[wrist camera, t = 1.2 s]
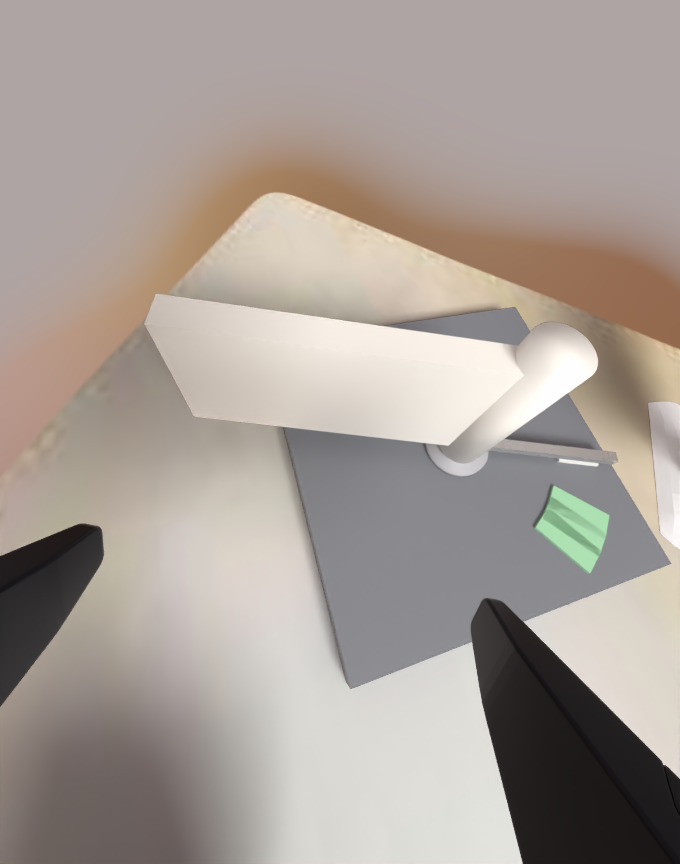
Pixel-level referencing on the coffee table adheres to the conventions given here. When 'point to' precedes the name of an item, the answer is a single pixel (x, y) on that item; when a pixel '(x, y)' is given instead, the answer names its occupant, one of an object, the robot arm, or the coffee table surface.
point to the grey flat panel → (459, 526)
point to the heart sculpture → (667, 466)
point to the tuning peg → (370, 376)
